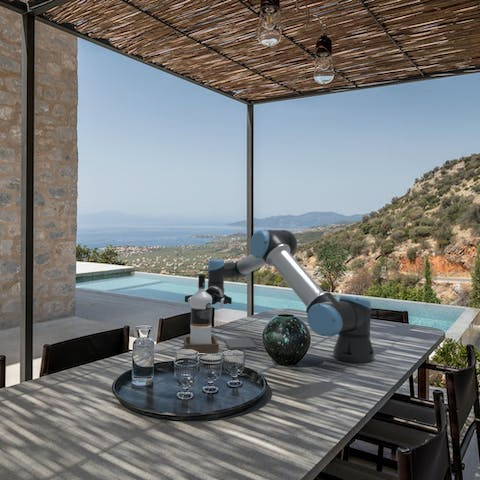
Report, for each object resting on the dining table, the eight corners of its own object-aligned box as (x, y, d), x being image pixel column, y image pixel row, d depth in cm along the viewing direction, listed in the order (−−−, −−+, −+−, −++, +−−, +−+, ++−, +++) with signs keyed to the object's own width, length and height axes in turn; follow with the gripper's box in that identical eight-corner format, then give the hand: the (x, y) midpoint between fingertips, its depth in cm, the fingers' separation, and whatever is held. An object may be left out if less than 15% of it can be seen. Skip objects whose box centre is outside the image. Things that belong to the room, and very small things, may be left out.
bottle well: (218, 354, 176) (218, 344, 176) (185, 355, 174) (185, 345, 174) (214, 346, 188) (214, 336, 188) (183, 346, 186) (183, 337, 186)
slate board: (256, 349, 185) (256, 346, 185) (229, 349, 183) (229, 347, 183) (249, 340, 199) (249, 338, 199) (224, 341, 197) (224, 338, 197)
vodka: (202, 346, 188) (203, 272, 187) (217, 351, 181) (218, 274, 180) (183, 350, 181) (185, 273, 180) (198, 355, 175) (200, 276, 174)
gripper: (239, 304, 211) (235, 313, 190) (185, 302, 213) (175, 310, 192) (240, 288, 210) (235, 294, 189) (185, 286, 213) (175, 292, 191)
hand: (205, 302), depth 190 cm, fingers open, 13 cm apart
